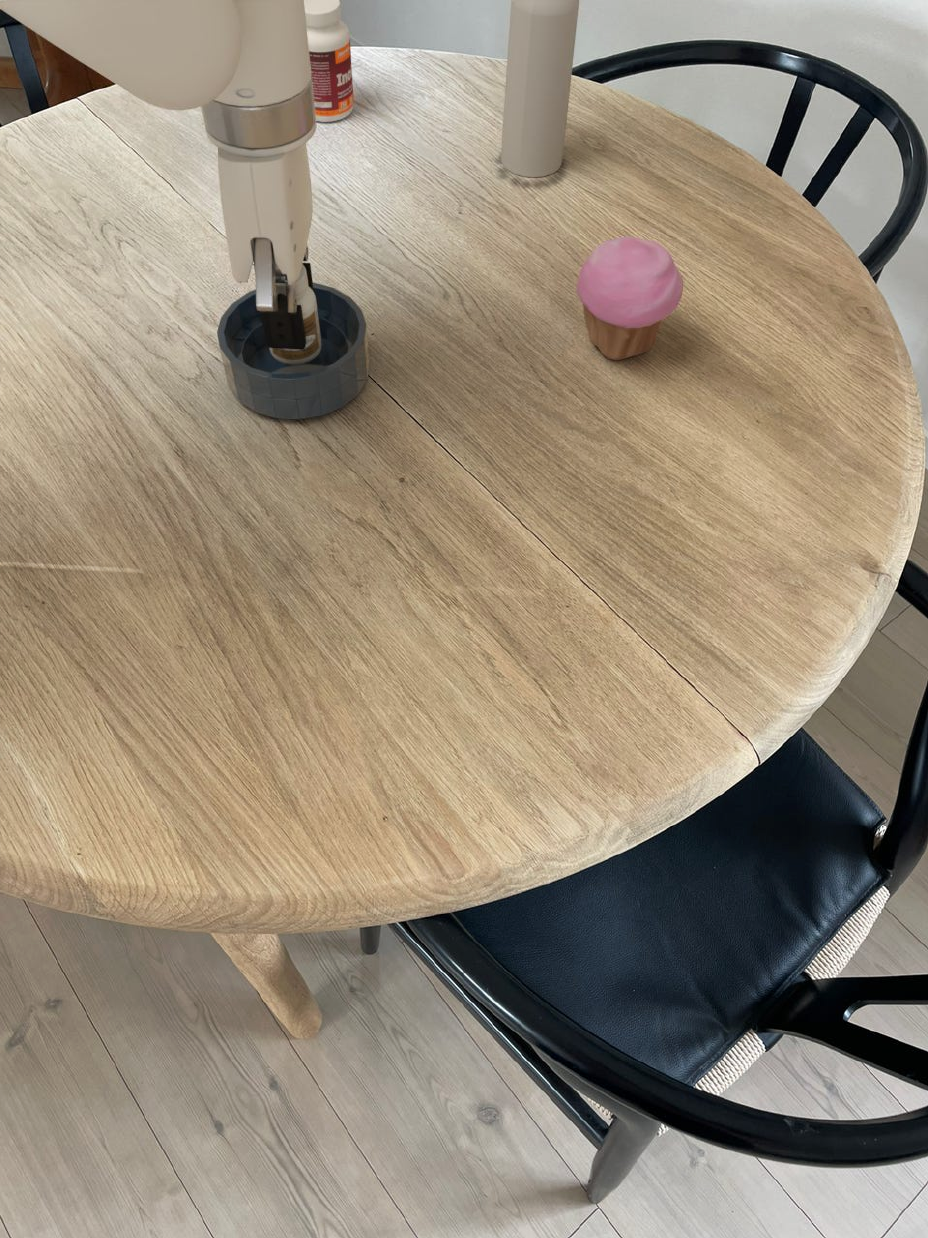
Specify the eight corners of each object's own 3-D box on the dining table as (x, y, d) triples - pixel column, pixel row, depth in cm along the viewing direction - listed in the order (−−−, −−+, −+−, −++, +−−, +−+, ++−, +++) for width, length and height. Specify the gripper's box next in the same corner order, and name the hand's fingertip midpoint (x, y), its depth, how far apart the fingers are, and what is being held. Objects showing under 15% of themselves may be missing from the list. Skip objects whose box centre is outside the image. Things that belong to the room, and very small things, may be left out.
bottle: (515, 136, 107) (538, -180, 84) (571, 152, 105) (610, -165, 82) (490, 166, 103) (507, -155, 80) (547, 183, 102) (581, -139, 79)
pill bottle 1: (274, 371, 81) (261, 293, 75) (265, 336, 83) (251, 258, 77) (326, 362, 82) (317, 284, 75) (316, 328, 84) (306, 250, 78)
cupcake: (685, 357, 87) (711, 261, 79) (607, 391, 85) (626, 295, 76) (625, 301, 91) (645, 204, 83) (549, 332, 89) (561, 235, 80)
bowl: (216, 420, 81) (204, 374, 77) (241, 324, 88) (232, 277, 84) (361, 428, 81) (357, 382, 77) (375, 331, 88) (372, 285, 84)
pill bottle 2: (350, 125, 107) (342, 18, 98) (294, 122, 107) (282, 15, 98) (357, 96, 111) (351, -11, 101) (303, 92, 111) (292, -14, 102)
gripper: (225, 40, 70) (262, 259, 85) (175, 174, 61) (227, 394, 76) (329, 45, 70) (348, 263, 85) (295, 180, 61) (323, 399, 76)
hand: (291, 323), depth 80 cm, fingers closed on pill bottle 1, 4 cm apart
